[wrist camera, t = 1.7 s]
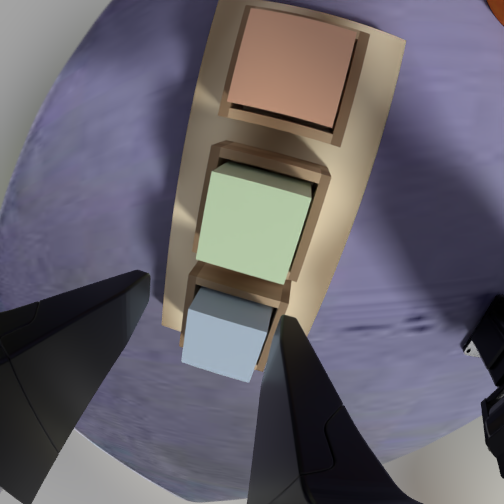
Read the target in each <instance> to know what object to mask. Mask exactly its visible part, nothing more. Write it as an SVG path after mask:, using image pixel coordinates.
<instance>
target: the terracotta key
mask: <svg viewBox="0 0 504 504" xmlns="http://www.w3.org/2000/svg"><path fill="white" fill-rule="evenodd" d="M356 34H357V32H355V31H352V30H348V29H345V28H342V27H338V26H335V25H331V24H328V23H324V22H320V21H316V20H312V19H308V18H304V17H299V16H294V15H290V14H285V13H279V12H274V11H268V10H262V9H255V8H251V10H250V13H249V17H248V20H247V24H246V27H245V31H244V35H243V39H242V42H241V46H240V50H239V54H238V58H237V62H236V66H235V70H234V74H233V78H232V82H231V86H230V90H229V94H228V99H227V102H231V103H236V104H241V105H246V106H251V107H255V108H260V109H264V110H268V111H272V112H276V113H280V114H284V115H288V116H292V117H296V118H299V119H303V120H307V121H310V122H314V123H317V124H320V125H324V126H327V127H330V128H332V126H333V123H334V119H335V116H336V112H337V108H338V105H339V101H340V97H341V93H342V90H343V86H344V82H345V78H346V74H347V70H348V66H349V63H350V59H351V55H352V51H353V46H354V42H355V38H356Z"/></svg>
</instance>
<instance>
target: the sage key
mask: <svg viewBox="0 0 504 504" xmlns="http://www.w3.org/2000/svg"><path fill="white" fill-rule="evenodd" d="M311 198H312V197H311V183H308V182H305V181H301V180H298V179H294V178H291V177H287V176H284V175H280V174H276V173H273V172H269V171H265V170H261V169H258V168H254V167H250V166H246V165H242V164H238V163H234V162H230V161H228V162H226V163H224V164H223V165H221V166H219V167H218V168H216V169H215V170H213V171H212V173H211V178H210V183H209V188H208V193H207V198H206V204H205V209H204V215H203V220H202V226H201V232H200V237H199V243H198V249H197V255H196V259H197V260H200V261H203V262H207V263H210V264H213V265H217V266H220V267H224V268H227V269H230V270H234V271H237V272H241V273H244V274H248V275H251V276H254V277H258V278H261V279H265V280H268V281H272V282H275V283H279V284H282V285H284V283H285V280H286V277H287V274H288V271H289V268H290V265H291V262H292V258H293V255H294V252H295V249H296V246H297V243H298V240H299V237H300V234H301V230H302V227H303V224H304V221H305V218H306V215H307V211H308V208H309V205H310V202H311Z"/></svg>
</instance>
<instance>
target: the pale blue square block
mask: <svg viewBox="0 0 504 504" xmlns="http://www.w3.org/2000/svg"><path fill="white" fill-rule="evenodd" d="M271 312H272V307H271V306H268V305H264V304H261V303H257V302H254V301H250V300H247V299H244V298H240V297H237V296H233V295H230V294H227V293H223V292H220V291H217V290H213V289H210V288H207V287H204V286H201V288H200V290H199V291H198V293H197V295H196V296H195V298H194V300H193V302H192V303H191V305H190V307H189V308H188V315H187V322H186V329H185V337H184V345H183V353H182V361H181V362H183V363H186V364H189V365H192V366H195V367H198V368H201V369H205V370H208V371H211V372H214V373H217V374H221V375H224V376H227V377H231V378H234V379H237V380H241V381H245V382H248V383H249V382H250V379H251V376H252V374H253V371H254V368H255V365H256V363H257V360H258V357H259V354H260V352H261V349H262V346H263V343H264V341H265V338H266V335H267V332H268V327H269V322H270V317H271Z"/></svg>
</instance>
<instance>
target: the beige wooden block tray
mask: <svg viewBox="0 0 504 504" xmlns="http://www.w3.org/2000/svg"><path fill="white" fill-rule="evenodd" d="M251 8H255V9H262V10H268V11H274V12H279V13H285V14H290V15H294V16H299V17H304V18H308V19H312V20H316V21H320V22H324V23H328V24H331V25H335V26H338V27H342V28H345V29H348V30H352V31H355V32H357V34H356V38H355V42H354V46H353V51H352V55H351V59H350V63H349V66H348V70H347V74H346V78H345V82H344V86H343V90H342V93H341V97H340V101H339V105H338V108H337V112H336V116H335V119H334V123H333V126H332V128H330V127H327V126H324V125H320V124H317V123H314V122H310V121H307V120H303V119H299V118H296V117H292V116H288V115H284V114H280V113H276V112H272V111H268V110H264V109H260V108H255V107H251V106H246V105H241V104H236V103H231V102H227V99H228V94H229V90H230V86H231V82H232V78H233V74H234V70H235V66H236V62H237V58H238V54H239V50H240V46H241V42H242V39H243V35H244V31H245V27H246V24H247V20H248V17H249V13H250V10H251ZM405 44H406V40H403V39H401V38H398V37H396V36H393V35H391V34H388V33H386V32H383V31H380V30H378V29H375V28H372V27H369V26H366V25H363V24H360V23H357V22H354V21H351V20H348V19H344V18H341V17H337V16H334V15H330V14H326V13H323V12H319V11H315V10H310V9H306V8H302V7H297V6H292V5H287V4H282V3H276V2H270V1H263V0H219V1H218V4H217V7H216V11H215V14H214V18H213V21H212V25H211V29H210V32H209V36H208V40H207V44H206V47H205V51H204V55H203V59H202V63H201V67H200V72H199V76H198V80H197V85H196V89H195V94H194V98H193V103H192V108H191V112H190V117H189V122H188V127H187V132H186V138H185V143H184V149H183V154H182V160H181V166H180V172H179V178H178V184H177V191H176V197H175V204H174V211H173V218H172V226H171V234H170V242H169V251H168V259H167V269H166V279H165V290H164V301H163V314H162V325H163V326H166V327H169V328H172V329H175V330H178V331H180V332H181V335H180V344H179V346H180V347H183V345H184V337H185V329H186V322H187V315H188V308H189V307H190V305H191V303H192V302H193V300H194V298H195V296H196V295H197V293H198V291H199V290H200V288H201V286H204V287H207V288H210V289H213V290H217V291H220V292H223V293H227V294H230V295H233V296H237V297H240V298H244V299H247V300H250V301H254V302H257V303H261V304H264V305H268V306H271V307H272V312H271V317H270V322H269V327H268V332H267V335H266V338H265V341H264V343H263V346H262V349H261V352H260V354H259V357H258V360H257V363H256V365H255V368H254V369H255V370H258V371H262V372H263V370H264V368H265V365H266V363H267V359H268V355H269V351H270V347H271V343H272V339H273V336H274V333H275V331H276V328H277V325H278V323H279V320H280V317H281V316H282V315H283V314H285V315H288V316H292V317H295V318H296V319H297V320H298V322H299V324H300V325H301V327H302V329H303V331H304V333H305V335H306V336H307V335H308V333H309V331H310V329H311V327H312V324H313V322H314V320H315V318H316V315H317V313H318V311H319V308H320V306H321V304H322V301H323V299H324V297H325V294H326V292H327V289H328V287H329V285H330V282H331V280H332V277H333V275H334V272H335V270H336V267H337V265H338V262H339V260H340V257H341V254H342V252H343V249H344V247H345V244H346V241H347V239H348V236H349V233H350V231H351V228H352V225H353V222H354V220H355V217H356V214H357V211H358V208H359V206H360V203H361V200H362V197H363V194H364V191H365V188H366V185H367V182H368V179H369V176H370V173H371V170H372V167H373V164H374V161H375V157H376V154H377V151H378V148H379V144H380V141H381V138H382V134H383V131H384V127H385V124H386V120H387V117H388V113H389V109H390V106H391V102H392V98H393V94H394V91H395V87H396V83H397V79H398V75H399V70H400V66H401V62H402V57H403V53H404V48H405ZM228 161H230V162H234V163H238V164H242V165H246V166H250V167H254V168H258V169H261V170H265V171H269V172H273V173H276V174H280V175H284V176H287V177H291V178H294V179H298V180H301V181H305V182H308V183H311V197H312V198H311V202H310V205H309V208H308V211H307V215H306V218H305V221H304V224H303V227H302V230H301V234H300V237H299V240H298V243H297V246H296V249H295V252H294V255H293V258H292V262H291V265H290V268H289V271H288V274H287V277H286V280H285V283H284V285H282V284H279V283H275V282H272V281H268V280H265V279H261V278H258V277H254V276H251V275H248V274H244V273H241V272H237V271H234V270H230V269H227V268H224V267H220V266H217V265H213V264H210V263H207V262H203V261H200V260H197V259H196V255H197V249H198V243H199V237H200V232H201V226H202V220H203V215H204V209H205V204H206V198H207V193H208V188H209V183H210V178H211V173H212V171H213V170H215V169H216V168H218V167H219V166H221V165H223V164H224V163H226V162H228Z"/></svg>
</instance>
